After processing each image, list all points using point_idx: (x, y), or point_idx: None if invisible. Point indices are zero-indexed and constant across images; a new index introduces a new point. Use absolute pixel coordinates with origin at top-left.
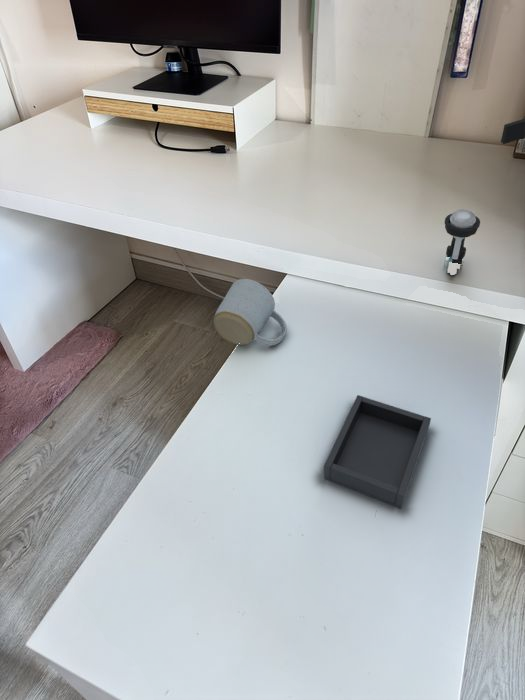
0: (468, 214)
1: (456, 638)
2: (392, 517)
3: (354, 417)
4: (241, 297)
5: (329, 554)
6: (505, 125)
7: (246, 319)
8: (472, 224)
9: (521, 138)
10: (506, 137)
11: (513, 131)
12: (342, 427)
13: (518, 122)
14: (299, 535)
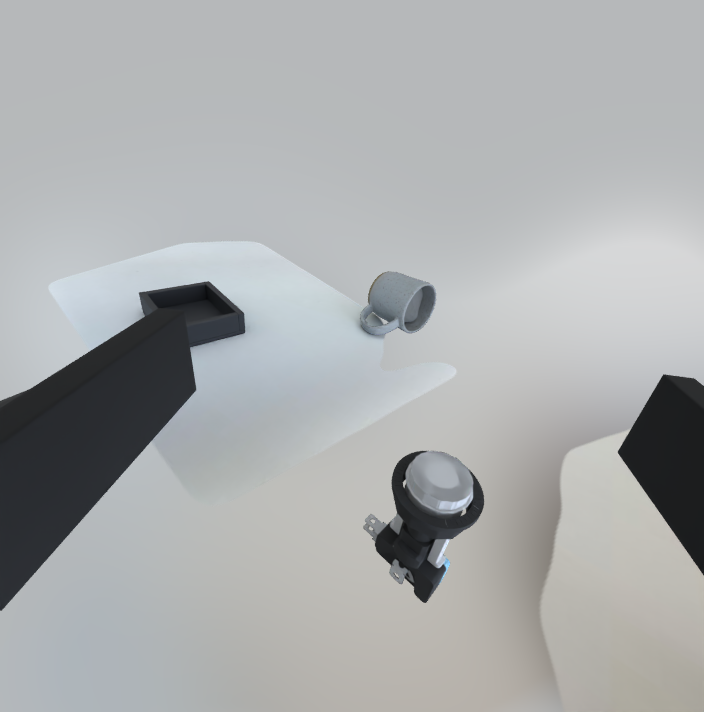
0: (442, 486)
1: (55, 294)
2: None
3: (227, 306)
4: (401, 277)
5: (165, 284)
6: (685, 379)
7: (376, 281)
8: (409, 487)
9: (684, 542)
10: (637, 431)
11: (672, 438)
12: (225, 296)
13: None
14: (191, 281)
